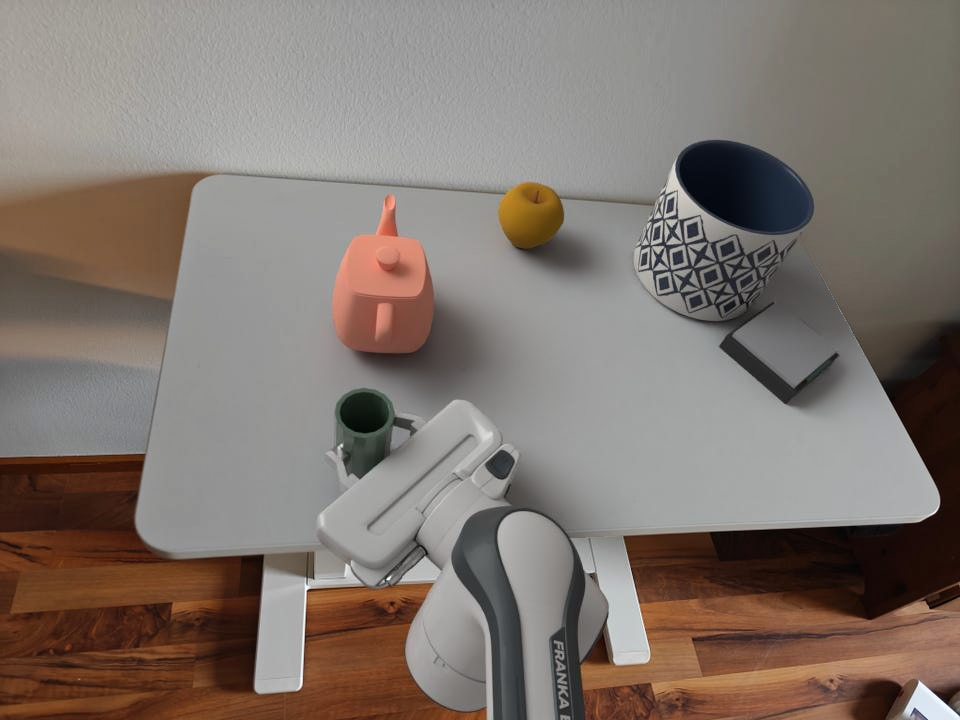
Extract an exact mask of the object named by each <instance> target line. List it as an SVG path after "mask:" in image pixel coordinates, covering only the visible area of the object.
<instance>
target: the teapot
mask: <svg viewBox="0 0 960 720" xmlns="http://www.w3.org/2000/svg"><path fill="white" fill-rule="evenodd" d="M396 203H397V202H396V198H395V196H394V195H393V194H391V193H390V194H387V195H386V196H385V198H384V200H383V207H382V214H381V219H380V222H379V225H378V228H377V231H376V233H375V234H359V235H357V236H354V238H353V239H352V240H351V242H350V244H349V246H348V248H347V250H346V252H345V254H344V256H343V258H342V260H341V262H340V265H339V269H338V272H337V274H336V277H335V282H334V285H333V293H332V301H331V303H332V304H331V305H332V306H331V307H332V308H331V311H332V319H333V324H334V329H335V332H336V335H337V336H338V339H339V340H340V342H341V343H342V345H344V346H345V347H346V348H347V349H350V350H353V351H359V352H366V353H367V352H368V353H379V354H410V353H414V352H416V351H418V350H419V349H420V348H422V347H423V346H424V345H425V343H426V341H427V339H428V337H429V335H430V332H431V328H432V326H433V325H432V324H433V320H434V319H433V318H434V313H435V312H434V309H435V293H434V284H433V279H432V275H431V271H430V270H431V269H430V267H429V263H428V259H427V256H426V252H425V250H424V248H423V247H424V246H423V245H422V243H421V242H420V241H419V240H418V239H415V238H409V237H403V236H399V233H398V227H397V221H396V220H397V219H396Z"/></svg>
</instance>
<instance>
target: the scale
mask: <svg viewBox="0 0 960 720" xmlns="http://www.w3.org/2000/svg"><path fill="white" fill-rule="evenodd" d="M718 348H720V349H721V350H722V351H723V352H724V353H725V354H727V355H728V356H729V357H730V358H731V359H732V360H733V361H735V362H736V363H737V365H739V366H740V367H741V368H742V369H744V370H745V371H746V372H748V373H749V375H751V376H752V378H755V380H757V381H758V382H759V383H760V384H761V385H763V387H765V389H767V390H768V391H769V392H770V393H772V394H773V395H774V396H775V397H777V398H778V400H780V401H781V402H782V403H783V404H785V405H786V404H787V403H788V402H790V401H791V400H792V399H794V398H795V396H797V395H798V394H799V393H801V391H803V390H804V389H805V388H806V387H807V386H808V385H810V384H811V383H812V382H813V381H814V380H815V379H816V378H818V377H819V376H820V375H821V374H822V373H824V371H826V370H827V369H828V368H829V367H831V365H832V364H833V363H834V362H835V361H836V360H837V359H838V358H839V357H840V354H839V353H837V352H838V349H837V348H836V347H835V346H834V345H832V344H830V343H829V342H828V341H827V340H826V339H824V338H823V337H822V336H821V335H820V334H818V333H817V332H815V330H813V329H812V328H811V327H809V326H808V325H807V324H806V323H804V321H802V320H800V318H798V317H797V316H796V315H794V314H793V313H792V312H791V311H790V310H788V309H787V308H785V307H784V306H783V305H782V304H781V303H779V302H778V301H776V302H774V301H772V302H771V303H769V304H768V305H767V306H765V307H764V308H762V309H761V310H759V311H758V312H757V313H755V314H754V315H753V316H751V317H750V318H748V319H747V320H746V321H745V322H743V323H741V324H740V325H739V326H737V327H736V328H734V329H733V330H732V331H730V332H729V333H728V334H726V335H725V337H724V338H723V340H722V341H721V342H720V344H719V346H718Z"/></svg>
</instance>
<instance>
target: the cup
mask: <svg viewBox="0 0 960 720" xmlns="http://www.w3.org/2000/svg"><path fill="white" fill-rule="evenodd" d="M394 408H395V407H394V404H393V402H392V400H391V399H390V398H389V396H387V395H386V394H385V393H383V392H381V391H379V390H377V389H374V388H369V387H361V388H354V389H351V390H350V391H347V392H346V393H344V394H343V395H341V397H340V398H339V399H338V401H337V402H336V403H335V408H334V413H333V447H334V446H336V445H338V446H340V447H341V450H344V451H345V452H346V453H347V454H348V455H349V458H348V464H347V465H346V466H345V470H346V473H347V477H348V478H349V475H350V474H354V475H355V476H356V477H357V478H358V479H361V478H362V477H364V476H365V475H366V474H367V473H368V472H370V471H371V470H372V469H373V468H374V467H375V466H377V465H378V464H379V463H380V462H381V461H383V460H384V459H385V458H386V457H387V456H388V455H390V454H391V446H392V438H393V431H394V430H393V429H394V427H393V423H394V416H395V411H394Z"/></svg>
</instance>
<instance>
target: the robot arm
mask: <svg viewBox="0 0 960 720" xmlns="http://www.w3.org/2000/svg"><path fill="white" fill-rule="evenodd" d="M394 411H395V416H394V423H393V428H394V427H397V428H400V429H404V430H406V431H409V437H408V438H407V439H405V440H404V442H402V443H401V444H400V445H399V446H397V448H395V449H394V450H393V451H392V452H390V455H388V456H387V457H386V458H385V459H384V460H383V461H381V462H380V463H379V464H378V465H377V466H375V467H374V468H373V469H372V470H371V471H370V472H368V473H367V474H366V475H365V476H364V477H362V478H361V479H358V478H357V477H356V476H355V475H354V474H350V475H349V478H348V477H347V473H346V470H345V466H346V465H347V464H348V458H349V455H348V454H347V453H346V452H345V451H344V450H341V447H340V446H338V445H336V446H334V445H333V447H332V448H330V449H329V450H328V451H327V452H325V453H324V461H325V462H326V464H327V465H328V466H329V467H330V468H331V469H332V470H334V472H335V473H336V477H337V481H338V486H339V490H340V493H341V495H340V496H339V497H338V498H336V499H335V500H334V501H333V502H331V504H329V505H328V506H326V508H324V510H322V511H321V512H320V513H319V514H318V516H317V518H316V537H317V539H318V541H319V543H320V544H321V546H323V547H325V548H326V549H327V550H328V551H329V552H330V553H331V554H333V555H334V556H335V557H336V558H338V559H339V560H341V561H342V562H343V563H344V564H347V565H348V566H349V568H350V571H351V573H352V575H353V576H354V577H355V578H356V579H357V580H358V581H359V582H360V583H361V584H362V585H363V586H364V587H366V588H368V589H369V590H374V591H375V590H376V591H377V590H383V589H385V588H388V587H389V588H393V587H395V586H396V585H397V584H398V583H400V581H402V579H403V577H404V576H405V575H406V574H407V573H408V572H409V571H410V570H412V569H413V568H414V567H415V566H416V565H417V564H419V562H421V561H422V560H423V559H424V558H427V560H429V561H430V562H431V563H432V564H433V565H434V566H436V568H437V569H439V570H440V573H439V574H438V576H437V577H436V579H435V581H434V583H433V585H432V586H431V588H430V589H429V591H428V592H427V594H426V596H425V599H424V601H423V602H422V604H421V606H420V608H419V609H418V610H417V612H416V615H415V616H414V618H413V620H412V622H411V624H410V626H409V629H408V633H407V635H406V638H405V640H404V641H405V642H404V650H403V651H404V653H403V654H404V659H405V664H406V667H407V670H408V672H409V675H410V676H411V679H412V680H413V682H414V684H415V685H416V686H417V688H418V689H419V690H420V691H421V692H422V693H423V694H424V696H426V697H427V698H428V699H429V700H430V701H432V702H433V703H435V704H436V705H438V706H440V707H442V708H444V709H446V710H448V711H453V712H456V713H462V714H471V713H477V712H480V711H482V710H484V709H486V720H587V717H586V716H587V715H586V706H585V697H584V696H585V695H584V687H583V678H582V669H581V667H582V665H583V664H584V662H585V661H586V660H587V659H588V657H589V656H590V655H591V653H592V652H593V650H594V648H595V646H596V644H597V642H598V641H599V640H600V639H601V637H602V635H603V632H604V631H605V629H606V625H607V622H608V620H609V616H610V615H609V614H610V610H609V609H610V603H609V601H608V599H607V597H606V595H605V594H604V592H603V591H602V590H601V588H600V586H599V585H598V584H597V583H596V581H595V580H594V579H593V578H592V577H591V575H590V574H589V573H588V572H587V571H586V570H585V569H584V567H583V562H582V560H581V557H580V554H579V551H578V549H577V548H576V546H575V544H574V542H573V540H572V539H571V537H570V535H569V534H568V533H567V532H566V530H565V529H564V528H563V527H562V525H560V524H559V523H558V522H557V521H556V520H554V518H552V517H551V516H550V515H547V514H546V513H543V512H541V511H539V510H537V509H534V508H530V507H526V506H519V505H512V504H510V503H509V502H508V501H507V500H506V497H507V495H508V494H509V491H510V489H511V486H512V481H513V479H514V476H515V475H516V472H517V469H518V466H519V463H520V460H521V457H522V453H521V451H520V450H519V449H518V448H517V447H516V446H514V445H513V444H511V443H504V437H503V435H502V432H501V430H500V429H499V428H498V426H497V425H495V423H494V422H493V421H492V420H491V419H490V418H489V417H488V416H486V414H485V413H484V412H482V411H481V410H480V409H479V408H478V407H477V406H476V405H474V404H473V403H472V402H470V401H469V400H465V399H460V398H459V399H458V398H457V399H456V398H455V399H453V400H452V401H451V402H450V403H449V404H447V405H446V406H445V407H444V408H443V409H442V410H440V411H439V412H438V413H437V414H435V415H434V416H433V417H432V418H431V419H429V420H428V421H426V420H425V419H424V418H423V417H422V416H421V415H415V414H411V413H406V412H400V411H399V410H397V408H395V407H394ZM503 443H504V444H503ZM383 581H384V582H383ZM382 582H383V583H382Z"/></svg>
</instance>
